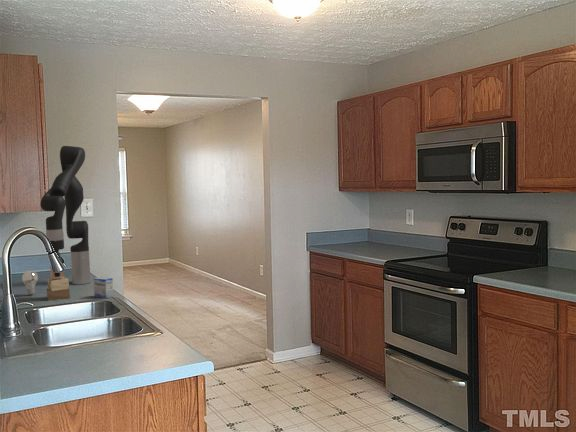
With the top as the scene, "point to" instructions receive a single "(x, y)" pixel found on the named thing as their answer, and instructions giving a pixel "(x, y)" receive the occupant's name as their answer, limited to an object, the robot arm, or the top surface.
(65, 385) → the top surface
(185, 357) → the top surface
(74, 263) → the robot arm
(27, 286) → the light bulb
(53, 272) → the cube
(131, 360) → the top surface
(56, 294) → the tower bottom
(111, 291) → the medicine box
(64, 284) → the tower top
